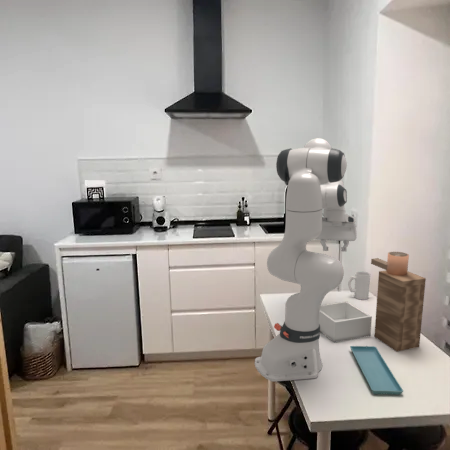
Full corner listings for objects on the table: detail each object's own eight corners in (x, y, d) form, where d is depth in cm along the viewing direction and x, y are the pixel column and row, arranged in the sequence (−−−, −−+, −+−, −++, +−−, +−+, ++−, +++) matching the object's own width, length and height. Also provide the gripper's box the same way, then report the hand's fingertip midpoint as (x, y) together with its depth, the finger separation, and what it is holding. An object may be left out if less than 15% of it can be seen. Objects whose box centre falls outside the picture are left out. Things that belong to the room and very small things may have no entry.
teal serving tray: (403, 397, 120) (404, 390, 120) (371, 397, 120) (372, 389, 120) (375, 352, 146) (375, 346, 145) (349, 352, 146) (349, 345, 146)
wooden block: (396, 351, 145) (402, 281, 140) (374, 336, 157) (379, 271, 151) (419, 347, 149) (425, 278, 143) (395, 332, 160) (401, 268, 155)
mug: (365, 294, 199) (367, 271, 197) (371, 300, 193) (372, 275, 190) (345, 295, 199) (346, 271, 197) (349, 300, 192) (351, 276, 190)
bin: (334, 342, 152) (335, 322, 151) (311, 324, 167) (312, 306, 165) (370, 336, 157) (371, 316, 156) (345, 319, 172) (346, 301, 170)
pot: (411, 274, 148) (413, 255, 146) (395, 276, 145) (397, 257, 144) (381, 262, 162) (382, 245, 161) (366, 264, 160) (367, 246, 159)
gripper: (318, 216, 167) (318, 250, 165) (358, 219, 175) (359, 251, 173) (309, 217, 172) (309, 250, 171) (348, 220, 180) (349, 252, 179)
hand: (334, 251), depth 172 cm, fingers open, 8 cm apart
